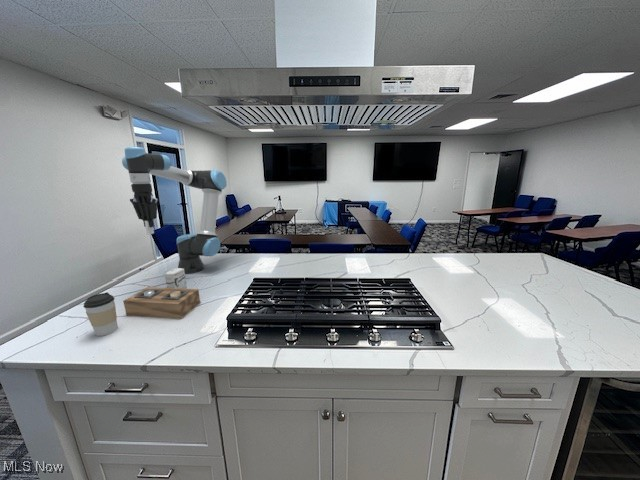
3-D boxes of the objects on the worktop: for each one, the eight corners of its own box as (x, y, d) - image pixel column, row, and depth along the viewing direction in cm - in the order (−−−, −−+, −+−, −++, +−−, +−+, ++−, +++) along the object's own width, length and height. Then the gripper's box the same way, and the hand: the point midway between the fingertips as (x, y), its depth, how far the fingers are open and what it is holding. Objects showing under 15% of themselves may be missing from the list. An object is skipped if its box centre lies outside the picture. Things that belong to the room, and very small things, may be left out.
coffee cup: (97, 340, 93) (87, 304, 89) (87, 333, 97) (77, 298, 93) (125, 327, 100) (117, 293, 96) (114, 321, 104) (106, 289, 101)
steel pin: (151, 303, 117) (148, 289, 115) (159, 303, 117) (156, 290, 115) (144, 307, 113) (141, 293, 112) (152, 308, 113) (149, 294, 111)
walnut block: (151, 300, 123) (148, 286, 121) (200, 302, 120) (198, 288, 118) (126, 315, 109) (122, 300, 107) (181, 318, 106) (178, 302, 104)
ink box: (175, 295, 127) (172, 274, 124) (167, 295, 128) (163, 273, 125) (187, 288, 135) (184, 268, 132) (179, 287, 136) (176, 267, 133)
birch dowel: (176, 304, 115) (174, 290, 114) (184, 305, 115) (182, 291, 113) (170, 309, 112) (168, 294, 110) (178, 309, 111) (176, 295, 109)
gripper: (120, 183, 111) (131, 235, 116) (147, 183, 109) (157, 235, 115) (135, 183, 118) (144, 231, 124) (160, 182, 116) (168, 232, 122)
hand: (150, 233), depth 119 cm, fingers closed
